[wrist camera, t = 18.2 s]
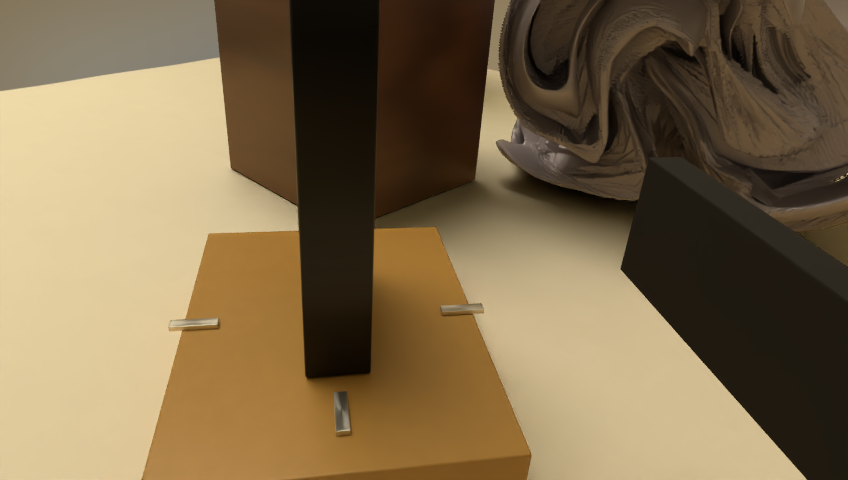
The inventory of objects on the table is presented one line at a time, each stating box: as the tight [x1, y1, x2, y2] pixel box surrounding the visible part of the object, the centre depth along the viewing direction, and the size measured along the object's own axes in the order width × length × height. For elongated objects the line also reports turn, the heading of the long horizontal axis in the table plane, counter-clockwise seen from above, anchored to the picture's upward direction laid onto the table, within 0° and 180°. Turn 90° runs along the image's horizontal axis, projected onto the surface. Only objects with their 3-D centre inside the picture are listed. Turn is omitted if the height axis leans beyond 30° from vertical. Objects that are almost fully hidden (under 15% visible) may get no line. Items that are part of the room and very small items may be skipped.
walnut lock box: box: [214, 0, 495, 218], centre depth 32 cm, size 10×10×13 cm
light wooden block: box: [142, 227, 531, 480], centre depth 19 cm, size 12×10×2 cm
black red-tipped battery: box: [289, 0, 380, 378], centre depth 17 cm, size 6×2×10 cm, turn 10°
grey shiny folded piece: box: [496, 0, 848, 232], centre depth 31 cm, size 20×18×15 cm
